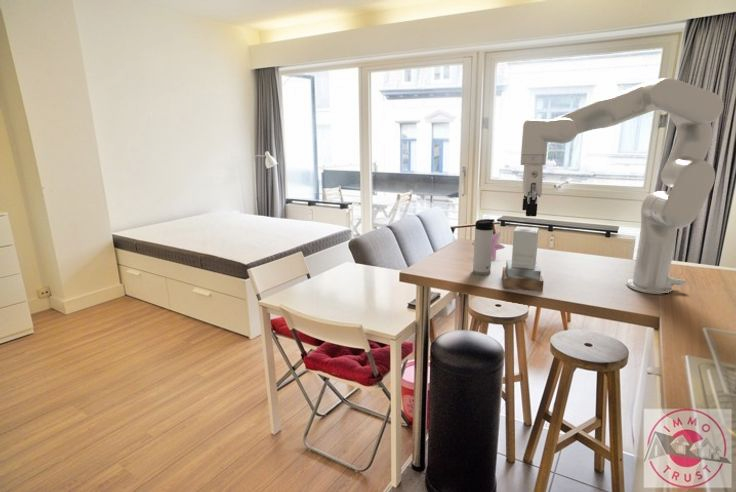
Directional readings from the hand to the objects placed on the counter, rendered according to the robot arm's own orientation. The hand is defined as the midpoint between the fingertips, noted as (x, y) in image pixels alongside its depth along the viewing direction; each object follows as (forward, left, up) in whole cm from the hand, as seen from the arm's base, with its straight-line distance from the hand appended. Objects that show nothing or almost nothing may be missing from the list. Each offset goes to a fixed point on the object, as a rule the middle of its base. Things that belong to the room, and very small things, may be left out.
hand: (529, 213), depth 140 cm
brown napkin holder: (+1, +1, -24) cm, 24 cm away
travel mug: (+14, -8, -25) cm, 29 cm away
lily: (+11, -29, -25) cm, 40 cm away
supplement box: (0, +1, -18) cm, 18 cm away
